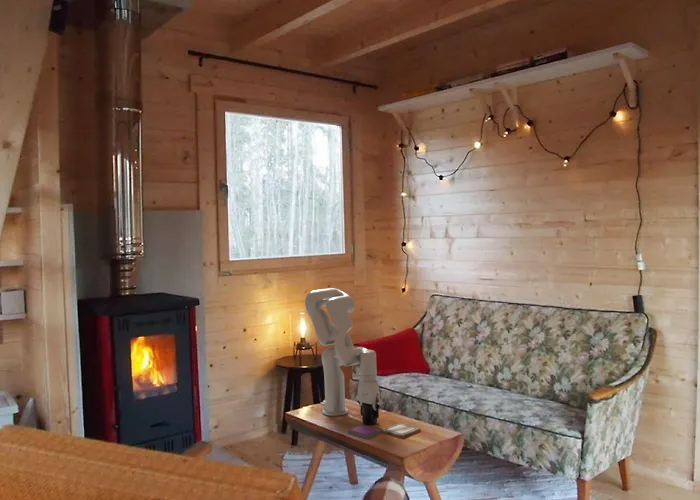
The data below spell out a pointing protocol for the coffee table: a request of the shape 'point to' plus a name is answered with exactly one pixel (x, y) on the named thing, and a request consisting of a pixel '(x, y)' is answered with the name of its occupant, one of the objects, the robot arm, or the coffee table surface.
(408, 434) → the white square tile
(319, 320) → the robot arm
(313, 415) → the coffee table surface
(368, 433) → the ink pad
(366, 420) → the supplement bottle
